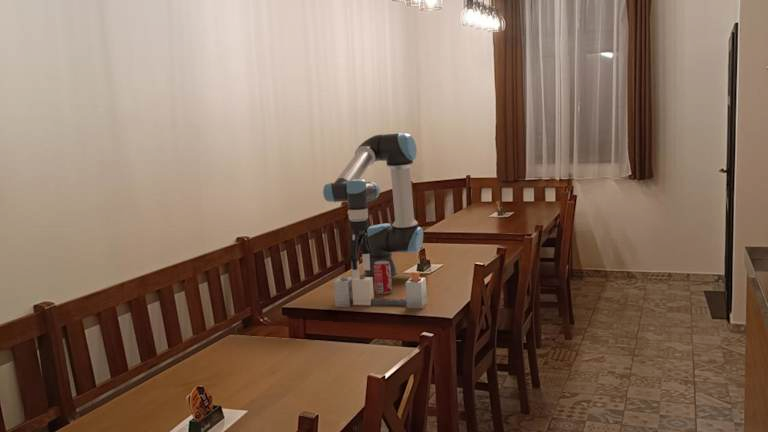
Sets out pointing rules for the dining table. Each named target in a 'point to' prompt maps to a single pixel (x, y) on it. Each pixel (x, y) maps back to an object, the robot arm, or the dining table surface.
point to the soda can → (382, 277)
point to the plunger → (415, 276)
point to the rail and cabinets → (414, 299)
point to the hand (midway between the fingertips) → (361, 273)
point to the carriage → (362, 290)
